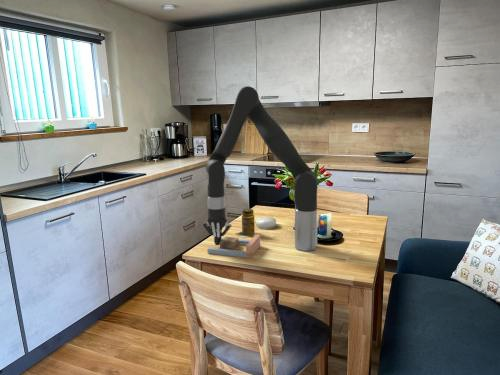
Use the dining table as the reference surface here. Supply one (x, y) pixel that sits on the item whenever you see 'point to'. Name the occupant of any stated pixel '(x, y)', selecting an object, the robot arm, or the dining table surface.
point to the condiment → (247, 223)
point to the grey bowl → (266, 222)
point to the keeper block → (229, 243)
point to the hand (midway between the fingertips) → (217, 244)
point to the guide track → (250, 250)
